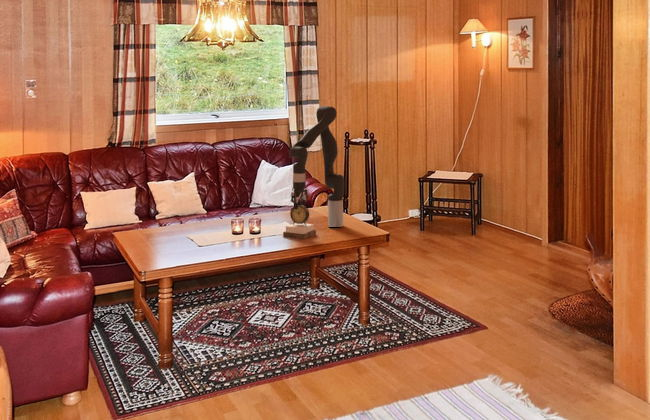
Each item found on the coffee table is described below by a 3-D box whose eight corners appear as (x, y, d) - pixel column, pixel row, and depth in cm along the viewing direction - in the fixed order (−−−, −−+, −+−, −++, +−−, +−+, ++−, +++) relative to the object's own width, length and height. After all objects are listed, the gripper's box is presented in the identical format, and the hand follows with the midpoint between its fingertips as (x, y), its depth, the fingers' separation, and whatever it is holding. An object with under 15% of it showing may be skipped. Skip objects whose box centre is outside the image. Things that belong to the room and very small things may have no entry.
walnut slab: (296, 233, 431) (296, 227, 430) (315, 235, 424) (315, 230, 423) (283, 237, 419) (283, 232, 418) (303, 240, 412) (303, 234, 412)
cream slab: (296, 227, 429) (295, 222, 428) (313, 229, 423) (313, 224, 423) (285, 232, 418) (285, 226, 418) (303, 234, 413) (303, 228, 412)
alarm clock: (289, 224, 421) (289, 197, 418) (294, 223, 425) (294, 196, 423) (306, 226, 416) (306, 199, 413) (310, 225, 420) (310, 197, 418)
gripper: (298, 182, 407) (298, 210, 410) (311, 179, 419) (311, 206, 422) (287, 181, 411) (287, 209, 414) (300, 178, 423) (300, 205, 426)
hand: (299, 208), depth 418 cm, fingers open, 8 cm apart
